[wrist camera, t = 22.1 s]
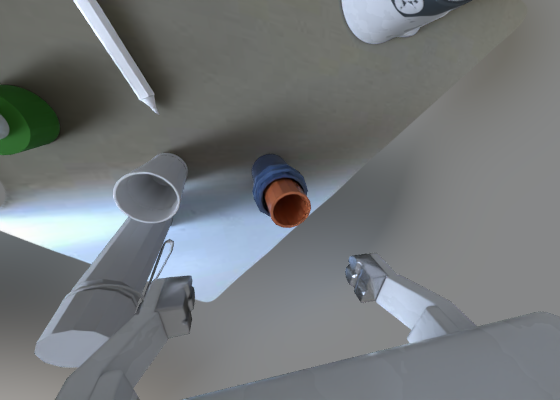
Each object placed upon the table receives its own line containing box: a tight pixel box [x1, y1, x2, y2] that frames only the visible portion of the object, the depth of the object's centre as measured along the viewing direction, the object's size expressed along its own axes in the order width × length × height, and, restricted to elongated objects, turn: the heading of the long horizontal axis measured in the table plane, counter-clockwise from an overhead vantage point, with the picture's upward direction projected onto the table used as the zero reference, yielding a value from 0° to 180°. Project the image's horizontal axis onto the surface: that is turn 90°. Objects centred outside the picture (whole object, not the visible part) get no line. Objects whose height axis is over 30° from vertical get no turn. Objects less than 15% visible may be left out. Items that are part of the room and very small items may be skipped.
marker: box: [73, 0, 159, 115], centre depth 29 cm, size 3×2×16 cm
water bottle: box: [34, 217, 174, 367], centre depth 31 cm, size 9×8×25 cm
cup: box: [113, 153, 188, 223], centre depth 33 cm, size 8×8×12 cm
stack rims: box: [252, 164, 308, 213], centre depth 35 cm, size 9×9×2 cm
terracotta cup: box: [263, 177, 311, 228], centre depth 33 cm, size 6×6×10 cm
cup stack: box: [252, 154, 307, 217], centre depth 37 cm, size 8×8×12 cm
